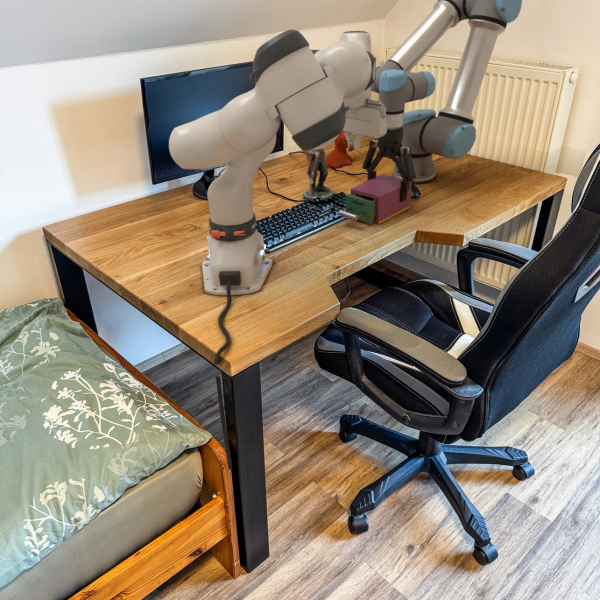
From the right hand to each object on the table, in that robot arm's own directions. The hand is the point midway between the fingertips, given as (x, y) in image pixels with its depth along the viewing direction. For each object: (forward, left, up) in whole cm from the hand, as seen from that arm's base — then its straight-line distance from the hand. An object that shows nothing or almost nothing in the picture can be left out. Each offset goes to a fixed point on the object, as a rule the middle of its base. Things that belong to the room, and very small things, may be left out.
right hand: (387, 196), depth 178 cm
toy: (-34, -34, -4) cm, 49 cm away
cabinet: (+3, -1, -4) cm, 5 cm away
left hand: (+16, -5, +20) cm, 26 cm away
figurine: (+1, -24, -4) cm, 24 cm away
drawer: (+9, -3, -3) cm, 10 cm away
